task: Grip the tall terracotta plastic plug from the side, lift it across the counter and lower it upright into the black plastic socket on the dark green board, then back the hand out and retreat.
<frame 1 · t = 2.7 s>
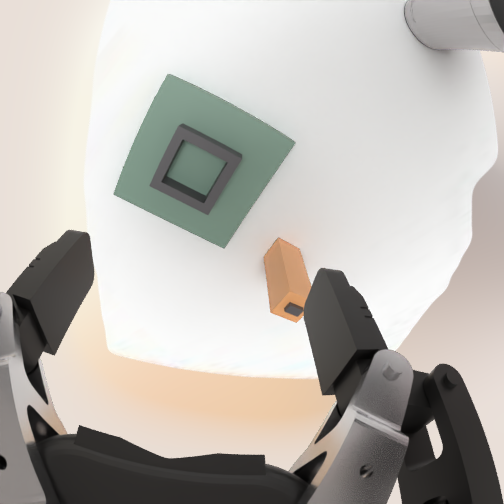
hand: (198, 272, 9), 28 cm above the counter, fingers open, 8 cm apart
plug: (281, 252, 43), on the counter
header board: (198, 163, 34), on the counter
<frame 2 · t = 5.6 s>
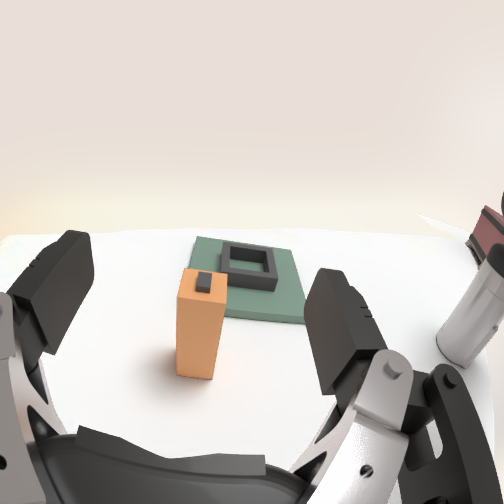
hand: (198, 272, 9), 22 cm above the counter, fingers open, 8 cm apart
reddish brown chest: (486, 264, 81), on the counter
plug: (195, 363, 29), on the counter
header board: (244, 278, 45), on the counter
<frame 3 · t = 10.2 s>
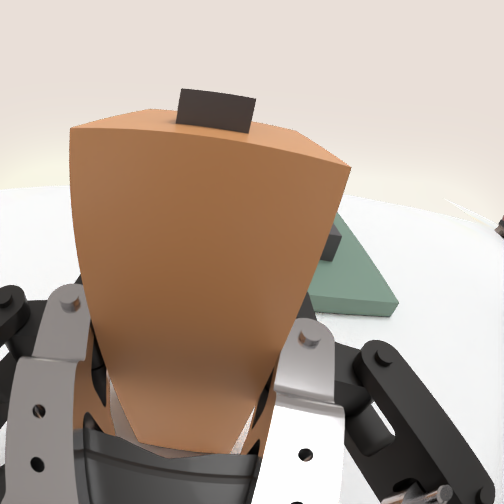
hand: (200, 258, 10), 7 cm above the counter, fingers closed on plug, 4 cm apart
plug: (186, 413, 11), on the counter, touching gripper
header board: (275, 244, 27), on the counter
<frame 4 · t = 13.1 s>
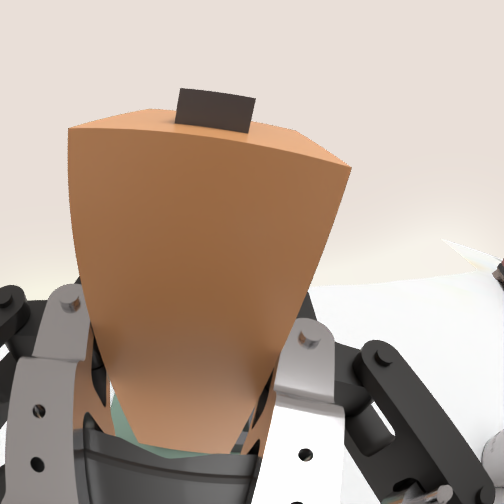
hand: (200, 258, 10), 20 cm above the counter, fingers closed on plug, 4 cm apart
plug: (186, 413, 11), point 13 cm above the counter, touching gripper
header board: (208, 415, 23), on the counter
when the fingers open (10 cm above the counter, at t = 16.4 s): plug drops 1 cm, resting on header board.
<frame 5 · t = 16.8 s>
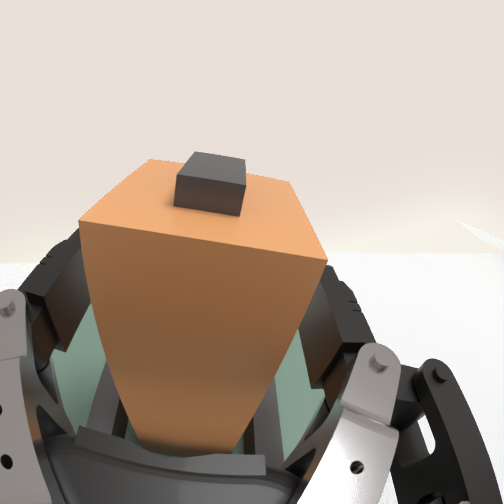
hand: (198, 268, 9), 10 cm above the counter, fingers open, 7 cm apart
plug: (187, 424, 12), point 2 cm above the counter, touching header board
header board: (185, 432, 13), on the counter
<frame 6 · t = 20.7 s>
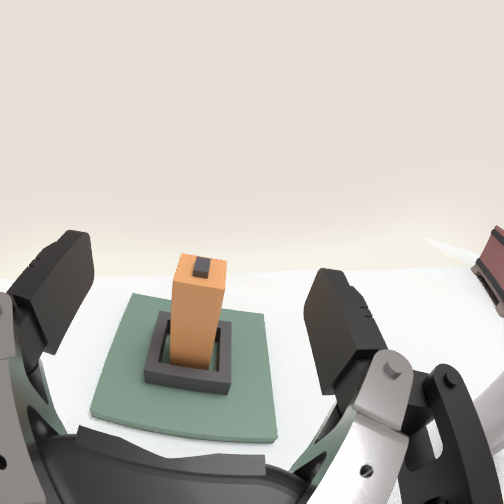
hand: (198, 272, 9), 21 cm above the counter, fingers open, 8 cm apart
reddish brown chest: (497, 295, 67), on the counter
plug: (190, 358, 28), point 1 cm above the counter, touching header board
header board: (189, 365, 29), on the counter
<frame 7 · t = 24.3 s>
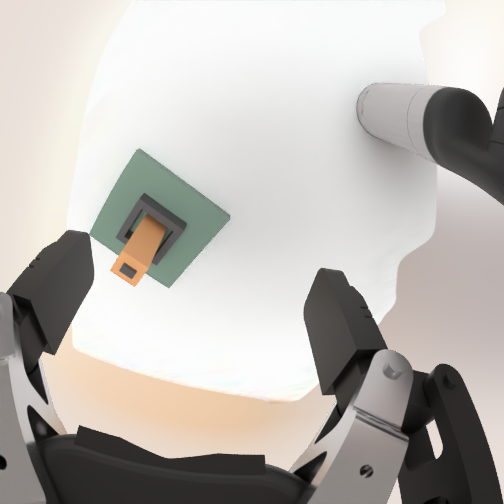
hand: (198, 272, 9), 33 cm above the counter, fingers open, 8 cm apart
plug: (152, 226, 43), point 1 cm above the counter, touching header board
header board: (154, 222, 44), on the counter
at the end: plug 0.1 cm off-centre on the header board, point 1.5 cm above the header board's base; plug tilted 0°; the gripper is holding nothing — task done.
